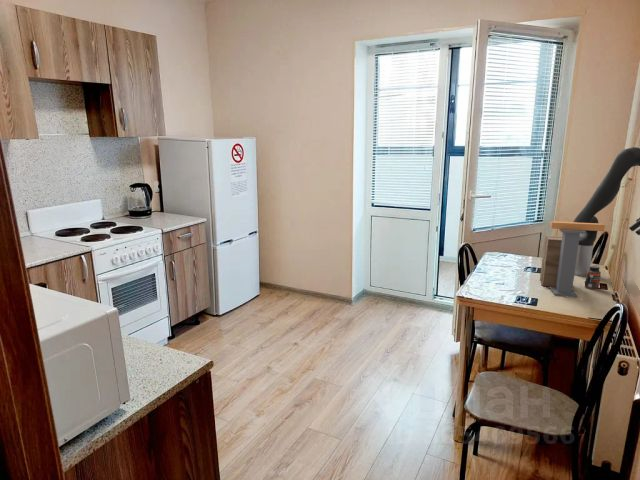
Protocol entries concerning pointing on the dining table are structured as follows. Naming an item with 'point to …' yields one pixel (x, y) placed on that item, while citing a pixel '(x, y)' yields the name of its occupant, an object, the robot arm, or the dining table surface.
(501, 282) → the dining table surface
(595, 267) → the supplement bottle
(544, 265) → the tan upright box
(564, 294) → the tall stand
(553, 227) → the block
